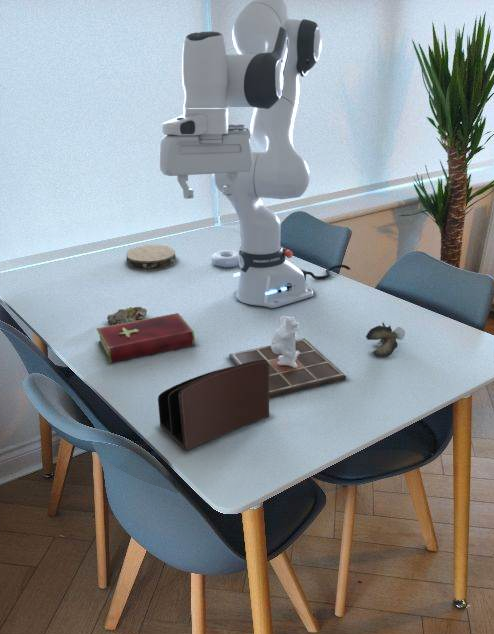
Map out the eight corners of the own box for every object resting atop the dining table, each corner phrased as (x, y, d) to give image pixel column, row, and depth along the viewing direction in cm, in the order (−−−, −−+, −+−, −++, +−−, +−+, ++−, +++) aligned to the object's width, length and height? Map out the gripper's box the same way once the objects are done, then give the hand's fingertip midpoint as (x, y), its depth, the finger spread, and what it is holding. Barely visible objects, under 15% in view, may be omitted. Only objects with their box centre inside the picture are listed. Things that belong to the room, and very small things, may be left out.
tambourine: (185, 258, 201) (184, 250, 199) (154, 273, 190) (153, 264, 188) (148, 250, 208) (148, 242, 206) (116, 264, 197) (115, 255, 195)
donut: (237, 257, 202) (208, 260, 200) (237, 247, 201) (208, 249, 198) (245, 267, 194) (215, 270, 192) (245, 257, 193) (215, 259, 190)
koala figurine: (306, 369, 136) (308, 320, 130) (277, 373, 135) (278, 324, 128) (295, 352, 143) (297, 305, 136) (268, 355, 142) (268, 308, 135)
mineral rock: (140, 301, 165) (148, 304, 158) (143, 317, 167) (151, 320, 160) (101, 310, 161) (108, 314, 154) (105, 326, 163) (112, 330, 156)
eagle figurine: (372, 333, 152) (357, 340, 144) (391, 313, 147) (377, 320, 140) (392, 355, 150) (379, 364, 143) (412, 336, 146) (400, 344, 139)
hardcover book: (195, 346, 148) (194, 330, 146) (110, 364, 141) (107, 348, 139) (179, 326, 158) (178, 312, 155) (98, 342, 150) (96, 327, 148)
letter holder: (270, 417, 122) (270, 355, 115) (185, 452, 113) (179, 388, 105) (242, 395, 129) (241, 336, 121) (159, 427, 119) (152, 365, 112)
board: (304, 342, 150) (304, 337, 149) (345, 380, 135) (346, 375, 134) (229, 358, 143) (229, 353, 142) (264, 399, 128) (264, 394, 127)
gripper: (242, 124, 129) (242, 192, 135) (153, 124, 119) (158, 198, 125) (258, 124, 124) (258, 195, 130) (167, 125, 114) (171, 201, 120)
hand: (208, 196), depth 127 cm, fingers open, 8 cm apart
